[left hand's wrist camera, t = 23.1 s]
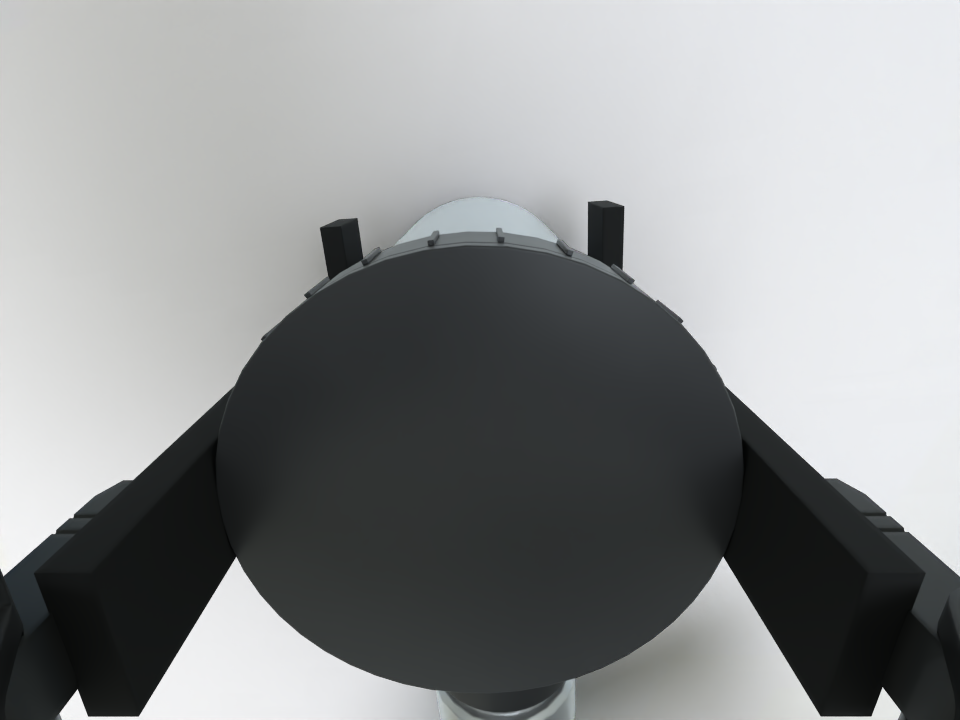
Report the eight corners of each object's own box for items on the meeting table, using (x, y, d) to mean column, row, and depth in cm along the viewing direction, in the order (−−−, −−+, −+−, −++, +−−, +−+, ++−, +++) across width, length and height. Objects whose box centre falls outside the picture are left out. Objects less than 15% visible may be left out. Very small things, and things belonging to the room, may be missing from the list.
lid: (567, 113, 9) (586, 103, 8) (779, 516, 13) (826, 572, 11) (151, 395, 11) (93, 437, 10) (423, 683, 15) (415, 753, 13)
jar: (353, 298, 27) (171, 501, 11) (470, 154, 25) (454, 148, 9) (487, 405, 30) (496, 704, 13) (607, 282, 27) (795, 467, 11)
